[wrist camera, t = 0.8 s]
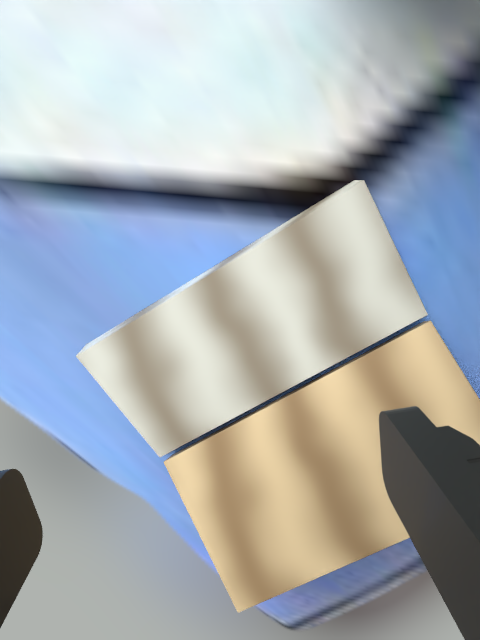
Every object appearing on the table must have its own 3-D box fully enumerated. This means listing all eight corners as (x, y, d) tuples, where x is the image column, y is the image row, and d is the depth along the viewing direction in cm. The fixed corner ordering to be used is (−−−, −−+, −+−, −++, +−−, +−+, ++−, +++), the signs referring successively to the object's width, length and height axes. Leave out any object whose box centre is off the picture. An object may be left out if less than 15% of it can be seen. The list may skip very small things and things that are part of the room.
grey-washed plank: (354, 180, 26) (364, 180, 24) (415, 305, 29) (427, 314, 27) (86, 344, 30) (75, 356, 28) (164, 441, 33) (159, 457, 31)
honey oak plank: (423, 321, 29) (430, 320, 27) (517, 473, 28) (532, 484, 26) (173, 454, 33) (163, 461, 31) (243, 595, 31) (237, 612, 29)
